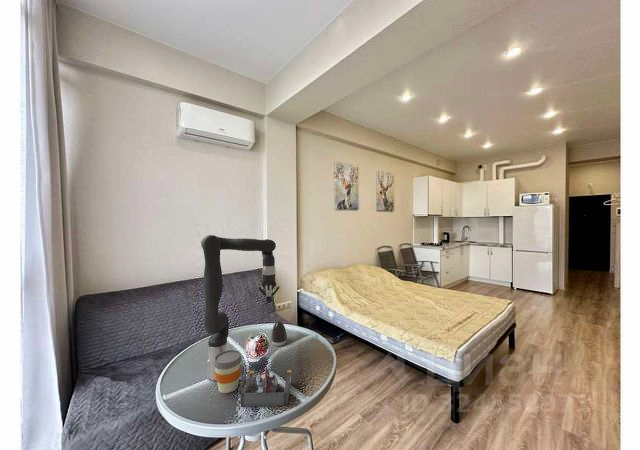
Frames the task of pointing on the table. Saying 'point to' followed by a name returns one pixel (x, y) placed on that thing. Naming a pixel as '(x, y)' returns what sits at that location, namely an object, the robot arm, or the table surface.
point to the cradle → (265, 394)
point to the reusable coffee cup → (227, 370)
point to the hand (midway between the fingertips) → (269, 302)
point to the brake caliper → (266, 383)
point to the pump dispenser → (278, 334)
